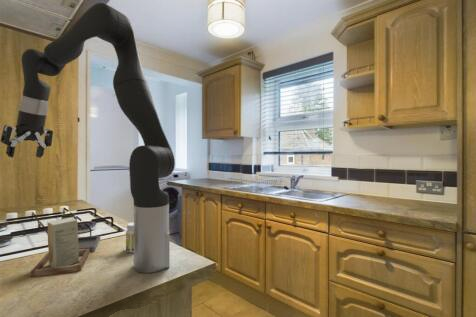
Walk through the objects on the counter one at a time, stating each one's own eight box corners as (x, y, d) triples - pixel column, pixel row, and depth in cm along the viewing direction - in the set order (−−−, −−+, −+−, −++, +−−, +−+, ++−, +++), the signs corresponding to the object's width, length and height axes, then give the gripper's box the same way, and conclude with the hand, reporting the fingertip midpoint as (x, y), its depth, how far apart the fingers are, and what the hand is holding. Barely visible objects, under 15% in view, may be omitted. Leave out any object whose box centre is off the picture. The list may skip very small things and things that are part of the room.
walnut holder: (89, 253, 80) (89, 248, 80) (80, 270, 69) (80, 265, 69) (48, 257, 76) (47, 252, 76) (31, 276, 65) (31, 271, 65)
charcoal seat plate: (100, 239, 92) (100, 235, 92) (94, 251, 81) (94, 247, 81) (63, 242, 88) (63, 238, 88) (52, 255, 78) (52, 251, 78)
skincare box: (73, 258, 77) (73, 216, 76) (79, 262, 74) (79, 219, 73) (47, 265, 72) (46, 221, 71) (52, 270, 69) (51, 224, 68)
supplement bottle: (144, 247, 85) (144, 221, 85) (137, 253, 81) (137, 226, 80) (130, 246, 86) (130, 221, 86) (122, 252, 81) (122, 225, 81)
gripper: (14, 110, 81) (6, 160, 83) (61, 117, 94) (53, 160, 96) (1, 105, 84) (-7, 153, 86) (48, 112, 97) (41, 154, 99)
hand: (25, 156), depth 91 cm, fingers open, 8 cm apart
